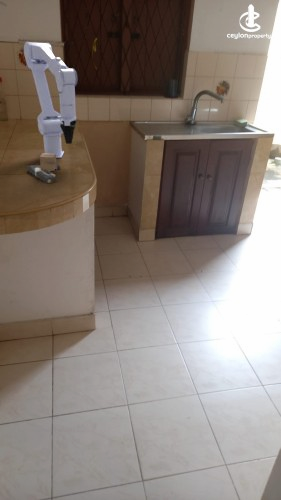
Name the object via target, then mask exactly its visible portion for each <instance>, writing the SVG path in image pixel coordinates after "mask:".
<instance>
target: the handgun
mask: <svg viewBox="0 0 281 500" xmlns="http://www.w3.org/2000/svg"><path fill="white" fill-rule="evenodd" d="M56 163H57V167H56V170H61V165H60V163H59V162H56ZM26 168H27V172H28V171H29V173H30V174H31V173H32V174H31V175H33V176H34V175H35V177H36V178H37V179H39V178H40V179H39V180H41V181H42V180H43V181H42V182H44V183H46V184H50V183H56V182H57V177H56V174H55V173H53V172H52V171H51V170H41V165H35V164H34V165H33V164H31V165H28V166H26Z"/></svg>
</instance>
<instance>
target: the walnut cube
mask: <svg viewBox="0 0 281 500" xmlns="http://www.w3.org/2000/svg"><path fill="white" fill-rule="evenodd" d="M39 163H40V165H41V170H51V171H50V172H52V171H55V169H56V167H57V163H58V162H57V158H56V154H50V153H45V152H44V153H43V152H42V153H41V155H39ZM56 170H57V169H56Z"/></svg>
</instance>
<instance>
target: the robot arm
mask: <svg viewBox="0 0 281 500" xmlns="http://www.w3.org/2000/svg"><path fill="white" fill-rule="evenodd" d="M23 55H24V58H25V62H26V63H25V64H26V65H27V68H29V69H30V70H31V73H32V77H33V80H34V84H35V88H36V92H37V96H38V101H39V105H40V108H41V112H40V113H39V115H38V116H37V118H36V120H37V127H38V131H39V133H40V134H41V136H42V137H43V147H44V148H43V149H44V153H50V154H56V159H62V158H63V156H64V153H65V151H64V150H63V149H62V148H63V147H62V137H61V136H62V135H63V137H64V142H65V144H69V145H71V144H72V143H73V139H74V133H75V128H76V124H77V115H76V114H77V113H76V112H77V111H76V91H75V90H76V89H75V87H76V86H77V84H78V73H77V71H76V70H75V68H73V67H72V68H69V67H68V66H67V65H66V64H65V62H64V61H63V60H62V59H61V57H56V56H55V55H54V53H53V49H52V45H51V44H50V43H49V42H34V41H33V42H31V41H30V42H29V41H25V42H24V45H23ZM46 69H48V70H49V71H50V72H51V74H52V75H53V76H54V78H55V83H56V85H57V91H58V92H59V95H58V96H59V109H60V112H58V111H56V110H55V109H54V105H53V100H52V97H51V93H50V89H49V84H48V80H47V77H46V72H45V71H46Z"/></svg>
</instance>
